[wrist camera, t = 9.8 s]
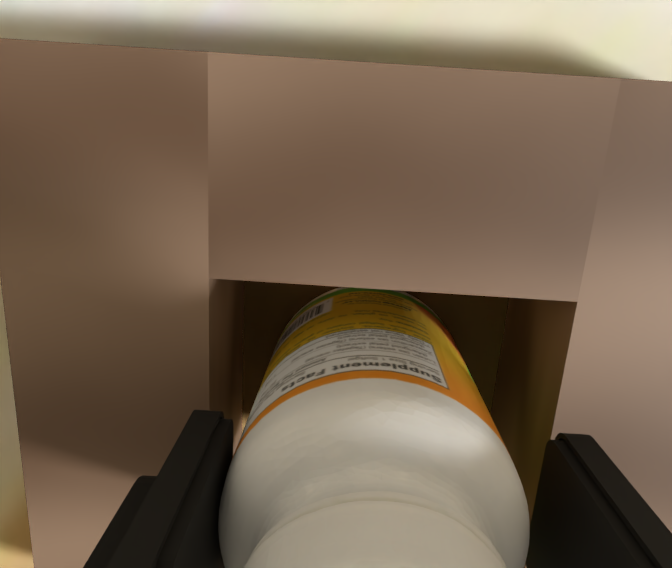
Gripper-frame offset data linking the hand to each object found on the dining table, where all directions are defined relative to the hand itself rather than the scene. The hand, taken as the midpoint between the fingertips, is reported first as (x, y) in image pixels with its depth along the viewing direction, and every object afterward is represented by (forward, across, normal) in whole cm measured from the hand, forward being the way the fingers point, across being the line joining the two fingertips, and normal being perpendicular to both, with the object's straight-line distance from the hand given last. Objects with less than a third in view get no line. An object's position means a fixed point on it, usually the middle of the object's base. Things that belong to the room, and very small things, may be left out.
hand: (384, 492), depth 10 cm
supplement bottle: (+6, 0, 0) cm, 6 cm away
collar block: (+5, 0, 0) cm, 5 cm away
